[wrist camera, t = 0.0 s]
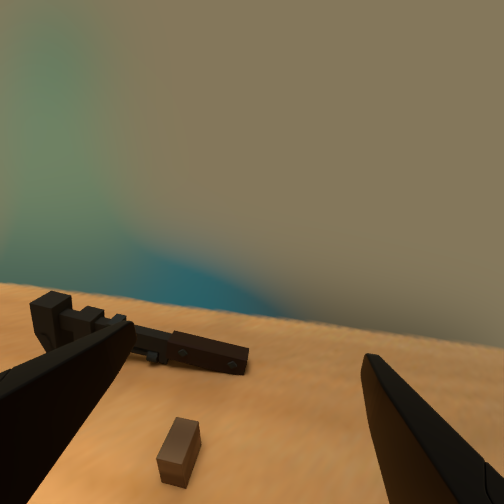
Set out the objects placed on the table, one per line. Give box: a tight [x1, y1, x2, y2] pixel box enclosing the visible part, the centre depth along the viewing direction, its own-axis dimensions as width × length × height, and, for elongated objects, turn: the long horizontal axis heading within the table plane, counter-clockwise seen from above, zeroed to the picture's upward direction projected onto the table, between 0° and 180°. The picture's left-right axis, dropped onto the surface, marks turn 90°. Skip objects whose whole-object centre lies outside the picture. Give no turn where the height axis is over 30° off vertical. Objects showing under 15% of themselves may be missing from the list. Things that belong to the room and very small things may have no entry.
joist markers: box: [156, 417, 201, 489], centre depth 16 cm, size 3×27×3 cm, turn 79°
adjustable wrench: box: [29, 291, 249, 375], centre depth 28 cm, size 8×3×25 cm
